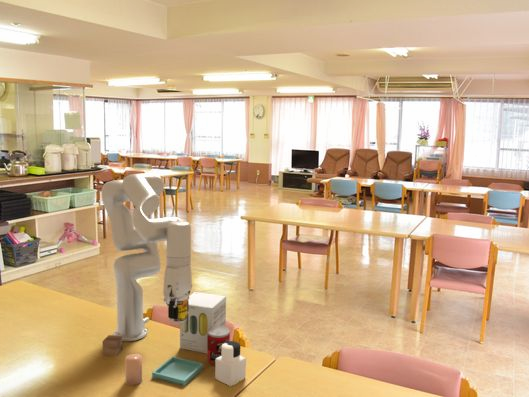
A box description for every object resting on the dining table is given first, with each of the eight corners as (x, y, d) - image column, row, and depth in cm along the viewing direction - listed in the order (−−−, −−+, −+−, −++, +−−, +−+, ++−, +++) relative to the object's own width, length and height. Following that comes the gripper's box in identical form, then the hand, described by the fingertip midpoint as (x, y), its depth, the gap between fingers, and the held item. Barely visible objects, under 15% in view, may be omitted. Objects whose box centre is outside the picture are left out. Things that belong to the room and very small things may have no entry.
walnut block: (109, 348, 171) (108, 335, 170) (122, 349, 170) (122, 336, 170) (102, 354, 166) (102, 341, 165) (116, 355, 165) (116, 342, 165)
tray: (172, 361, 163) (172, 356, 162) (203, 368, 158) (203, 363, 158) (152, 377, 151) (152, 372, 151) (184, 386, 147) (184, 380, 147)
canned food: (209, 367, 159) (209, 336, 157) (205, 356, 167) (205, 326, 165) (231, 365, 161) (232, 334, 160) (226, 354, 169) (227, 325, 167)
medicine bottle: (229, 370, 157) (230, 336, 156) (245, 378, 153) (246, 343, 151) (214, 379, 152) (215, 344, 150) (230, 387, 147) (231, 351, 146)
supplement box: (178, 348, 172) (178, 302, 169) (194, 334, 184) (194, 291, 182) (212, 354, 168) (213, 308, 165) (226, 339, 180) (226, 295, 178)
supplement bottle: (173, 325, 148) (173, 294, 147) (167, 319, 153) (167, 288, 151) (190, 321, 151) (190, 291, 150) (183, 315, 156) (183, 285, 154)
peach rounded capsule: (132, 375, 152) (132, 352, 151) (145, 379, 151) (145, 355, 149) (122, 383, 148) (122, 359, 147) (135, 386, 146) (135, 362, 145)
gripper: (182, 252, 158) (182, 304, 161) (152, 265, 143) (153, 322, 145) (202, 255, 156) (201, 307, 158) (174, 269, 140) (173, 327, 143)
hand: (178, 314), depth 152 cm, fingers closed on supplement bottle, 5 cm apart
